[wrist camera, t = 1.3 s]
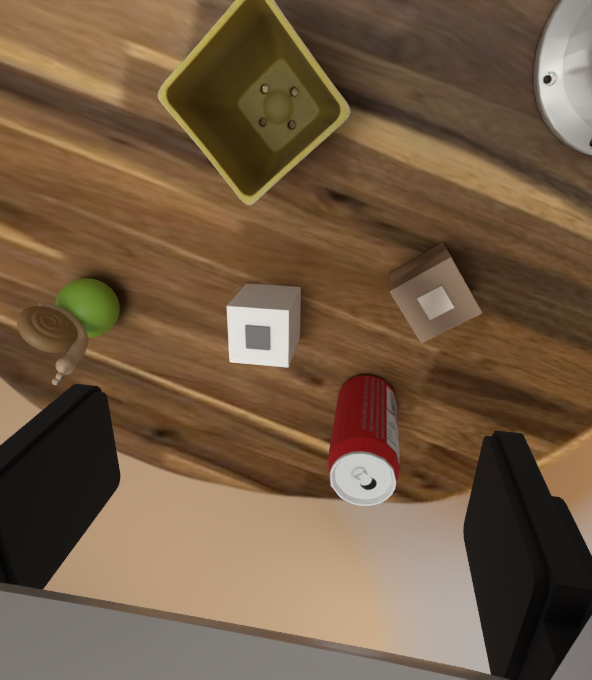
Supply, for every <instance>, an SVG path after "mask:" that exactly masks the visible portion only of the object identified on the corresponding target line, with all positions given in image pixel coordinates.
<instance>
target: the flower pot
mask: <svg viewBox="0 0 592 680" xmlns="http://www.w3.org/2000/svg"><path fill="white" fill-rule="evenodd" d="M263 85H266V86H268V92H267V93H265V94H264V93H263V92H262V91H261V88H262V86H263ZM292 88H297V90H298V94H297V95H296V96H293V95H291V89H292ZM158 98H159V100H160V102H161V103H162V104H163V106H164V107H165V108H166V109H167V111H168V112H169V113H170V114H171V115H172V116H173V117H174V119H175V120H176V121H177V122H178V123H179V124H180V125H181V127H182V128H183V129H184V130H185V131H186V133H187V134H188V135H189V136H190V137H191V138H192V139H193V141H194V142H195V143H196V144H197V145H198V147H199V148H200V149H201V150H202V151H203V153H204V154H205V155H206V156H207V158H208V159H209V160H210V161H211V163H212V164H213V165H214V166H215V168H216V169H217V170H218V172H219V173H220V174H221V175H222V177H223V178H224V179H225V180H226V182H227V183H228V184H229V185H230V187H231V188H232V189H233V191H234V192H235V193H236V195H237V196H238V197H239V198H240V199H241V200H242V201H243V202H244V203H245V204H246V205H249V206H250V205H252V204H254V203H255V202H256V201H257V200H258V199H259V198H260V197H262V196H263V195H264V194H265V193H266V192H267V191H268V190H269V189H270V188H271V187H272V186H274V185H275V184H276V183H277V182H278V181H279V180H280V179H281V178H282V177H283V176H285V175H286V174H287V173H288V172H289V171H290V170H291V169H292V168H294V167H295V166H296V165H297V164H298V163H299V162H300V161H301V160H302V159H304V158H305V157H306V156H307V155H308V154H309V153H310V152H312V151H313V150H314V149H315V148H316V147H317V146H318V145H319V144H321V143H322V142H323V141H324V140H325V139H326V138H327V137H328V136H329V135H331V134H332V133H333V132H334V131H335V130H336V129H337V128H339V127H340V126H341V125H342V124H343V123H344V122H345V121H346V120H347V119H348V118H349V116H350V114H351V110H350V107H349V105H348V103H347V102H346V100H345V99H344V98H343V96H342V95H341V94H340V93H339V91H338V90H337V89H336V87H335V86H334V84H333V83H332V82H331V80H330V79H329V78H328V76H327V75H326V73H325V72H324V71H323V69H322V68H321V67H320V65H319V64H318V62H317V61H316V60H315V58H314V57H313V55H312V54H311V53H310V51H309V50H308V48H307V47H306V45H305V44H304V43H303V41H302V40H301V38H300V37H299V36H298V34H297V33H296V31H295V30H294V29H293V27H292V26H291V24H290V23H289V22H288V20H287V19H286V17H285V16H284V14H283V13H282V11H281V10H280V8H279V7H278V5H277V4H276V2H275V1H274V0H235V1H234V2H233V3H232V5H231V6H230V7H229V9H228V10H227V11H226V12H225V14H224V15H223V16H222V17H221V18H220V19H219V20H218V21H217V23H216V24H215V25H214V26H213V27H212V29H211V30H210V31H209V32H208V33H207V34H206V35H205V37H204V38H203V39H202V40H201V41H200V42H199V44H198V45H197V46H196V47H195V48H194V49H193V51H192V52H191V53H190V54H189V55H188V56H187V57H186V58H185V59H184V61H183V62H182V63H181V64H180V65H179V66H178V67H177V68H176V69H175V71H174V72H173V73H172V74H171V75H170V76H169V77H168V78H167V79H166V81H165V82H164V83H163V85H162V86H161V88H160V89H159V92H158ZM262 118H265V119H266V121H267V124H266V125H265V126H261V125H260V120H261V119H262ZM290 121H294V122H295V128H294V129H290V128H289V126H288V124H289V122H290Z"/></svg>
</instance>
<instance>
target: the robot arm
mask: <svg viewBox="0 0 592 680" xmlns="http://www.w3.org/2000/svg"><path fill="white" fill-rule="evenodd" d="M545 76H549V78H550V80H549V82H548V83H547V84H545V83H544V82H543V79H544V77H545ZM534 92H535V97H536V102H537V107H538V109H539V111H540V113H541V116H542V118H543V120H544V122H545V124H546V125H547V126H548V128H549V129H550V130H551V132H552V133H553V134H554V135H555V136H556V137H557V138H558V139H559V140H561V141H562V142H563V143H564V144H565V145H567V146H569V147H571V148H573V149H575V150H577V151H579V152H581V153H584V154H588V155H592V146H590V145H589V143H590V140H591V139H592V0H560V1H559V2H558V4H557V5H556V6H555V8H554V10H553V12H552V14H551V16H550V18H549V19H548V21H547V23H546V25H545V27H544V30H543V33H542V35H541V38H540V41H539V44H538V47H537V52H536V57H535V63H534ZM119 482H120V469H119V464H118V458H117V452H116V446H115V440H114V434H113V428H112V422H111V417H110V411H109V405H108V399H107V395H106V394H105V393H103V392H102V391H101V389H100V388H99V387H98V386H91V385H82V384H74V385H73V386H71V387H70V388H69V389H68V390H66V391H65V392H64V393H63V394H62V395H60V396H59V397H58V398H57V399H56V400H54V401H53V402H52V403H51V404H50V405H48V406H47V407H46V408H45V409H44V410H42V411H41V412H40V413H39V414H37V415H36V416H35V417H34V418H33V419H32V420H30V421H29V422H28V423H27V424H26V425H24V426H23V427H22V428H21V429H19V430H18V431H17V432H16V433H15V434H14V435H12V436H11V437H10V438H9V439H7V440H6V441H5V442H4V443H3V444H2V445H0V680H592V555H591V554H590V551H589V549H588V548H587V545H586V543H585V541H584V539H583V537H582V535H581V533H580V531H579V529H578V527H577V525H576V523H575V521H574V519H573V517H572V515H571V513H570V511H569V509H568V507H567V505H566V503H565V502H564V500H563V499H561V498H560V497H554V496H551V494H550V492H549V490H548V487H547V485H546V483H545V481H544V479H543V476H542V474H541V472H540V470H539V468H538V466H537V463H536V461H535V459H534V457H533V455H532V453H531V450H530V448H529V446H528V444H527V442H526V440H525V437H524V436H523V434H521V433H514V432H505V431H494V433H493V435H492V436H485V437H484V439H483V443H482V447H481V452H480V456H479V460H478V465H477V469H476V473H475V478H474V482H473V486H472V491H471V495H470V499H469V504H468V508H467V512H466V517H465V521H464V531H463V532H464V542H465V546H466V552H467V557H468V561H469V566H470V572H471V577H472V582H473V587H474V592H475V597H476V601H477V606H478V611H479V616H480V622H481V627H482V631H483V637H484V642H485V647H486V652H487V657H488V662H489V667H490V672H491V675H489V674H485V673H481V672H478V671H474V670H470V669H465V668H461V667H456V666H451V665H446V664H442V663H436V662H432V661H427V660H422V659H417V658H412V657H407V656H402V655H398V654H393V653H388V652H383V651H377V650H372V649H367V648H362V647H357V646H351V645H345V644H341V643H335V642H329V641H324V640H319V639H314V638H308V637H303V636H298V635H292V634H287V633H282V632H276V631H270V630H265V629H260V628H255V627H249V626H244V625H238V624H233V623H227V622H222V621H216V620H211V619H205V618H200V617H194V616H188V615H183V614H177V613H172V612H166V611H161V610H155V609H149V608H144V607H139V606H133V605H127V604H122V603H116V602H110V601H105V600H99V599H93V598H88V597H82V596H76V595H70V594H65V593H58V592H53V591H47V590H43V589H44V587H45V586H46V585H47V583H48V582H49V581H50V579H51V578H52V576H53V575H54V574H55V572H56V571H57V570H58V568H59V567H60V566H61V564H62V563H63V562H64V560H65V559H66V557H67V556H68V555H69V553H70V552H71V550H72V549H73V548H74V547H75V545H76V544H77V542H78V541H79V540H80V538H81V537H82V536H83V534H84V533H85V532H86V530H87V529H88V527H89V526H90V525H91V523H92V522H93V521H94V519H95V518H96V517H97V515H98V514H99V513H100V511H101V510H102V508H103V507H104V506H105V504H106V503H107V502H108V500H109V499H110V498H111V496H112V495H113V493H114V492H115V491H116V489H117V488H118V485H119Z"/></svg>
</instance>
